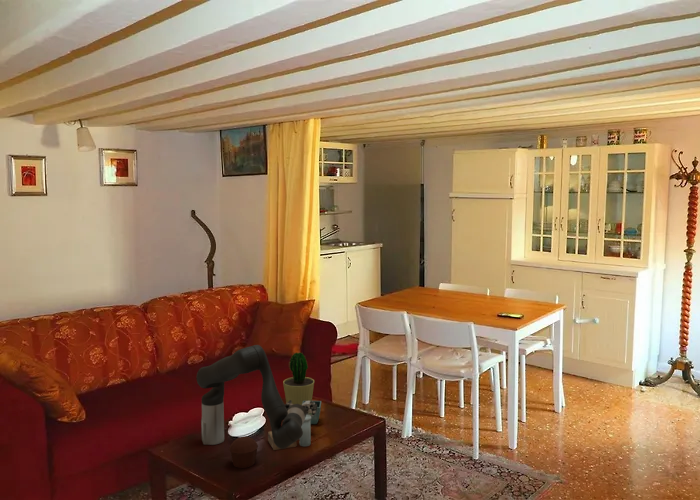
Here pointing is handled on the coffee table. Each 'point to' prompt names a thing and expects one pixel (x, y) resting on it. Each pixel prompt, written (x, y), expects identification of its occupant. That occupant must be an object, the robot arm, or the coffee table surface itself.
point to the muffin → (243, 452)
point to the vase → (306, 432)
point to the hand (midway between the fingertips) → (301, 402)
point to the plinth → (270, 440)
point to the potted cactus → (298, 381)
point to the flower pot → (316, 417)
